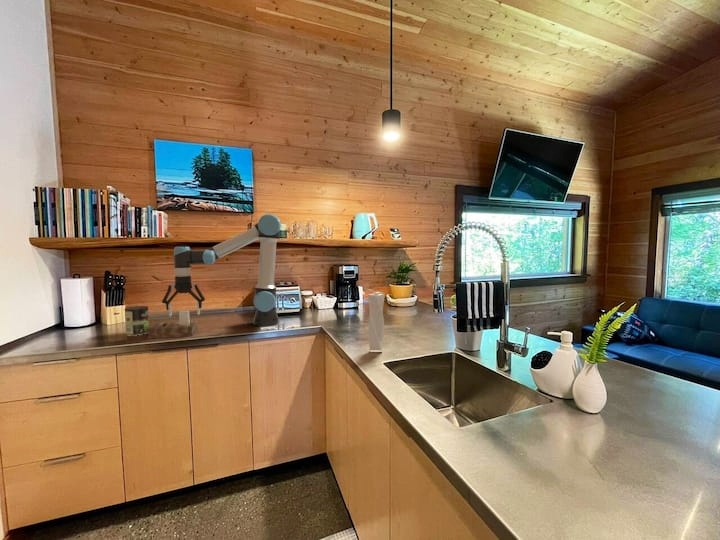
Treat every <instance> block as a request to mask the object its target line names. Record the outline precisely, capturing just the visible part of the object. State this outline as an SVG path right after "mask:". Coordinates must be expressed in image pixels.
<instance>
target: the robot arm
mask: <svg viewBox="0 0 720 540" xmlns="http://www.w3.org/2000/svg"><path fill="white" fill-rule="evenodd" d="M281 227H282V223H281V220H280V219H279V217H278V216H276V215H275V214H271V213H266V214H263V215H262V216H260V218H259V219H258V222H257V223H255V224H254V225H253V227H251V228H249V229H247V230H244V231H243V232H241V233H239V234H237V235H235V236H233V237H231V238H228V239H226V240H224V241H222V242H220V243H217V244H216V245H214V246H211V247H209V248H207V249H204V250H203V249H201V250H199V249H198V250H194V249H193V250H192V249H191V248H190V246H175V247H174V249H173V263H174V276H175V277H174V283H175V284H174V285H173V284H169V285H168V287H167V291H166V293H165V295H164V296H163V299H162V300H161V303H162V304H165V305H166V306H165V307H166V309H165V310H166V311H168V317H172V316H173V311H172V310H173V309H172V301H173V300H174V298H175V297H177V296H178V294H188V293H189V295H190V296H192V298H194V299H195V300H196V301H197V302H196V313H197V315H200V314H201V309H202V308H203V307H202V305H203V303H202V302H204V301H205V300H206V298H205V297H204V294H203V293H202V291H201V290H200V288H199V284H198V283H196V284H192V276H191V275H192V269H191V268H192V267H191V265H213V264H215V262H216V261H217V260H219V259H221V258H223V257H224V256H225V257H226V256H227V255H229V254H231V253H233V252H236V251H237V250H239V249H242V248H244V247H245V246H247V245H250V244H253V243H254V242H256V241H258V240H259V241H260V245H259V247H260V248H259V260H258V261H259V262H258V276H257V277H258V278H257V284H256V285H255V286H254V297H253V301H252V302H253V305H254V306H253V307H255V314H254V317H253V321H252V325H253V326H256V325H257V326H258V327H268V326H267V325H271V326H274V324H275V325H277V323H278V324H279V323H280V319H279V316H278V313H277V307H276V306H277V304H276V303H277V286H276V285H275V271H276V256H277V255H276V254H277V242H278V241H280V236H281V235H280V234H281ZM192 288H193V289H194V290H195V291H196V293H197V294H196V293H195V292H194V291H193V290H192ZM173 289H175V291H174V292H173V294H172V295H171V296H170V294H171V292H172V290H173ZM169 296H170V297H169Z"/></svg>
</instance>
